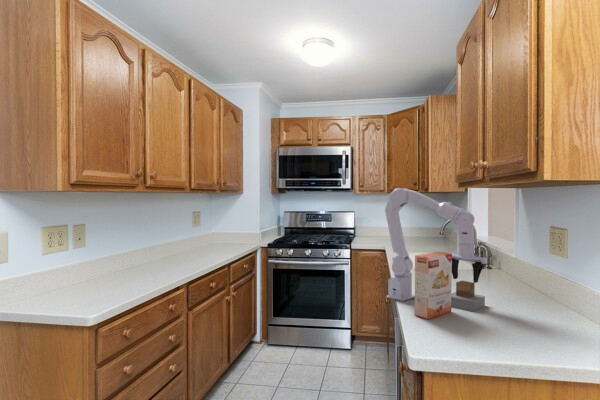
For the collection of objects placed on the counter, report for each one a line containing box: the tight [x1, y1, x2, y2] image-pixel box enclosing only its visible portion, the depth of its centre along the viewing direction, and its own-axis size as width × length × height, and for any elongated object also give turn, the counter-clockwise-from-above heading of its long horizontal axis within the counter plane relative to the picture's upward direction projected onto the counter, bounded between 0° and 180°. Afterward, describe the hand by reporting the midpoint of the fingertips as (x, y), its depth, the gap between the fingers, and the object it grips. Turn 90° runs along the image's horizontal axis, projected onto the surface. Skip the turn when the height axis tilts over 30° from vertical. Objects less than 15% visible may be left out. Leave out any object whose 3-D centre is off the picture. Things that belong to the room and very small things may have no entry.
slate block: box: [451, 291, 486, 313], centre depth 134 cm, size 10×10×4 cm
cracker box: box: [413, 251, 453, 320], centre depth 125 cm, size 14×6×21 cm, turn 126°
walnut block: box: [455, 280, 476, 298], centre depth 134 cm, size 5×5×5 cm
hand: (465, 280), depth 134 cm, fingers open, 7 cm apart
